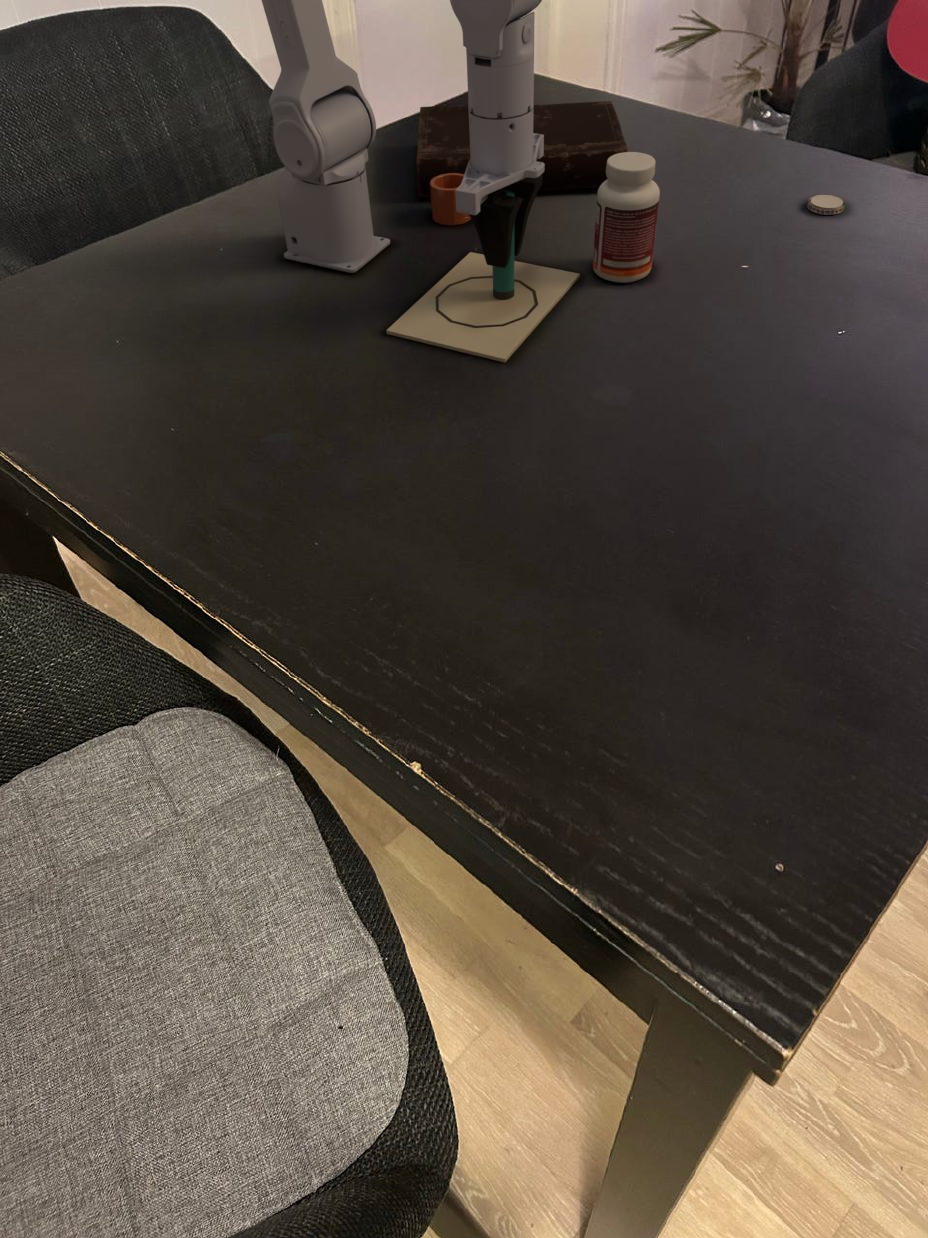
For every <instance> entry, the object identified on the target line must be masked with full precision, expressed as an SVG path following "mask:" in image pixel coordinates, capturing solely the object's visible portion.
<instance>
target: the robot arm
mask: <svg viewBox="0 0 928 1238" xmlns="http://www.w3.org/2000/svg"><path fill="white" fill-rule="evenodd" d="M542 1H543V0H449V2H450V6H451V9H452V11H453V13H454V15H455V17H456V19H457V20H458V22H459V24H460V27H461V31H462V46H463V47H465V53H466V54H465V55H466V77H467V78H466V79H467V80H466V81H467V104H468V107H469V109H468V110H469V134H470V160H469V162H468V165H467V168H466V171H465V174H464V177H463V180H462V183H461V185H460V186H459V187H458V188H457V189H456V190H455V196H456V212H459V213H465V214H469V216H470V217H471V221H472V223H473V225H474V228H475V230H476V233H477V236H478V239H479V242H480V245H481V250H482V253H483V255H484V257H485V260H486V263H487V265H491V266H496V267H501V268H505V267H506V266H507V265H508V262H509V259H510V253H511V243H512V233H513V227H514V223H515V229H514V257H517V256H518V255H520V253H521V249H522V246H523V242H524V237H525V232H526V228H527V224H528V220H529V215H530V212H531V210H532V207H533V203H534V201H535V199H536V197H537V195H538V193H539V191H538V190H539V189H540V187H541V185H542V175H541V174H542V173H543V172H544V170H545V164H544V163H542V162H537V159H540V158H541V157H542V156H543V155H544V135H542V134H535V133H533V106H534V105H535V104H534V102H535V101H534V100H535V99H534V98H535V97H534V96H535V95H534V94H535V93H534V92H535V20H536V19H535V15H536V14H535V10H536V9H537V8H538V7H539V5H540V4H541V3H542ZM261 2H262V3H261V4H262V7H263V11H264V14H265V18H266V21H267V24H268V25H267V26H268V27H269V31H270V35H271V38H272V42H273V45H274V48H275V52H276V55H277V59H278V63H279V66H280V72H279V76H278V78H277V80H276V83H275V85H274V87H273V90H272V92H271V94H270V96H269V100H268V106H269V109H270V112H271V116H272V121H273V130H272V131H273V132H272V133H273V135H272V136H273V143H274V148H275V151H276V154H277V156H278V158H279V159H280V162H281V163H282V165H283V166H284V167H285V168H284V169H283V170H282V172H281V174H280V175H279V178H278V183H277V203H278V208H279V213H280V219H281V223H282V228H283V234H284V239H285V243H286V249H287V251H285V252H284V253H283V258H284V259H286V260H290V261H295V262H299V263H304V264H308V265H313V266H318V267H322V268H327V269H331V270H336V271H339V272H345V273H350V274H355V273H357V272H358V271H359V270H360V269H361V268H363V267H364V266H365V265H366V264H368V263H369V262H370V261H371V260H372V259H374V258H375V257H376V256H377V255H379V254H380V253H381V252H382V251H383V250H384V249H386V248H387V247H388V246H389V245H390V244H391V239H390V238H387V237H382V236H377V235H374V226H373V219H372V210H371V203H370V202H371V201H370V194H369V193H370V192H369V186H368V177H367V170H366V163H367V162H368V161H369V152H368V151H369V149H370V148H372V146H373V144H374V142H375V140H376V136H377V135H376V134H377V123H376V118H375V113H374V111H373V109H372V106H371V104H370V102H369V101H368V99H367V98H366V96H365V94H364V92H363V90H362V87H361V84H360V80H359V76H358V73H357V71H356V70H355V69H353V68H352V67H351V66H350V65H348V64H347V63H346V62H344V61H342V59H340V58H339V57H338V56H337V55H336V51H335V46H334V43H333V39H332V34H331V31H330V27H329V22H328V20H327V14H326V11H325V6H324V3H323V2H324V1H323V0H261ZM504 190H509V191H512V192H513V193H514V194H515V197H513V196H507V192H506V191H505V192H504Z"/></svg>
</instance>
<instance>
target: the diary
mask: <svg viewBox="0 0 928 1238" xmlns="http://www.w3.org/2000/svg"><path fill="white" fill-rule="evenodd" d="M468 109H469V107H468V103H465V104H463V103H462V104H450V105H449V104H446V105H431V106H430V105H429V106H420V107H419V116H418V117H419V118H418V130H417V146H416V147H417V148H416V160H415V161H416V163H415V164H416V176H417V177H416V178H417V189H418V197H419V198H431V192H430V181H431V180H432V179H433V178H434V177H436V176H439V175H442V174H448V173H459V174H465V171H466V168H467V165H468V162H469V160H470V134H469V110H468ZM621 126H622V125H621V122H620V120H619V117H618V115H617V110H616V108H615V106H614V104H613V101H611V100H604V101H602V100H601V101H581V102H565V103H564V102H563V103H561V102H560V103H545V104H544V103H543V104H534V106H533V133H535V134H542V135H544V155H543V156H542V157H541V158H540V159H537V162H542V163H544V164H545V170H544V172H543V173H542V174H541V175H542V185H541V187H540V189H539V190H538V192H542V191H543V192H544V191H554V190H568V189H599V187H600V186H601V184H602V183H603V182H604V181H606V180H607V179H608V178H607V176H606V166H607V160H608V158H609V157H611V156H612V155H615V154H618V153H624V152H629V149H628V146H627V142H626V140H625V137H624V133H623V130H622V127H621Z"/></svg>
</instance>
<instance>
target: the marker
mask: <svg viewBox="0 0 928 1238" xmlns="http://www.w3.org/2000/svg"><path fill="white" fill-rule="evenodd" d="M505 191H506V192H507V196H513V197H515V194H514V193H513V192H512V191H509V190H504V192H505ZM514 229H515V223H514V227H513V233H512V243H511V253H510V259H509V262H508V265H507V266H506V267H505V268H501V267H496V266H492V270H493V296H494V297H495V298H496V299H499V300H507V299H510V298H512V297H513V296H514V261H515V256H514Z"/></svg>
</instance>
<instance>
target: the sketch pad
mask: <svg viewBox="0 0 928 1238" xmlns="http://www.w3.org/2000/svg"><path fill="white" fill-rule="evenodd" d="M580 276H581V273H577V272H573V271H568V270H563V269H558V268H552V267H546V266H542V265H538V264H532V263H527V262H522V261H517V260H514V296H513V297H512V298H510V299H507V300H499V299H496V298H495V297H494V296H493V270H492V266H491V265H487V263H486V260H485V257H484V254H482V253H477V252H472V251H470V252H469V253H467V254H466V255H465V256H464V257H463V258H462V259H461V260H460V261H459V262H458V263H457V264H456V265H454V267H452V269H450V270H449V271H448V272H447V273H446V274H445V275H443V277H442V278H441V279H440V280H438V281H437V282H436V284H434V285H432V287H431V288H430V289H429V290H427V292H426V293H425V294H424V295H422V296H421V297H420V298H419V299H418V300H417V301H416V302H415V303H414V304H413V305H412V306H411V307H410V308H409V309H407V310H406V311H405V312H404V313H403V314H402V315H401V316H400V317H399V318H398V319H397V320H396V321H395V322H394V323H392V324H391V325H390V326H389V327H388V328H387V329H386V335H390V336H392V337H393V336H394V337H399V338H402V339H406V340H410V341H415V342H419V343H422V344H426V345H431V346H434V347H439V348H444V349H447V350H451V351H454V352H455V351H456V352H460V353H464V354H468V355H472V356H477V357H479V358H480V357H481V358H483V359H489V360H492V361H497V362H500V363H505V364H506V362H507V361H509V359H510V358H511V356H513V354H514V353H515V352H516V351H517V350H518V349H519V347H521V345H522V344H523V343H524V342H525V341H526V340H527V338H528V337H529V336H530V335H531V334H532V333H533V331H534V330H535V329H536V328H537V327H538V326H539V324H540V323H542V321H543V320H545V318H546V316H547V315H548V314H549V313H550V312H551V311H552V309H553V308H555V306H556V305H557V304H558V303H559V302H560V301H561V299H562V298H563V297H564V296H565V294H567V292H569V290H570V289H571V288H572V287H573V286H574V284H575V283H576V282H577V281H578V280H579V279H580Z"/></svg>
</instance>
